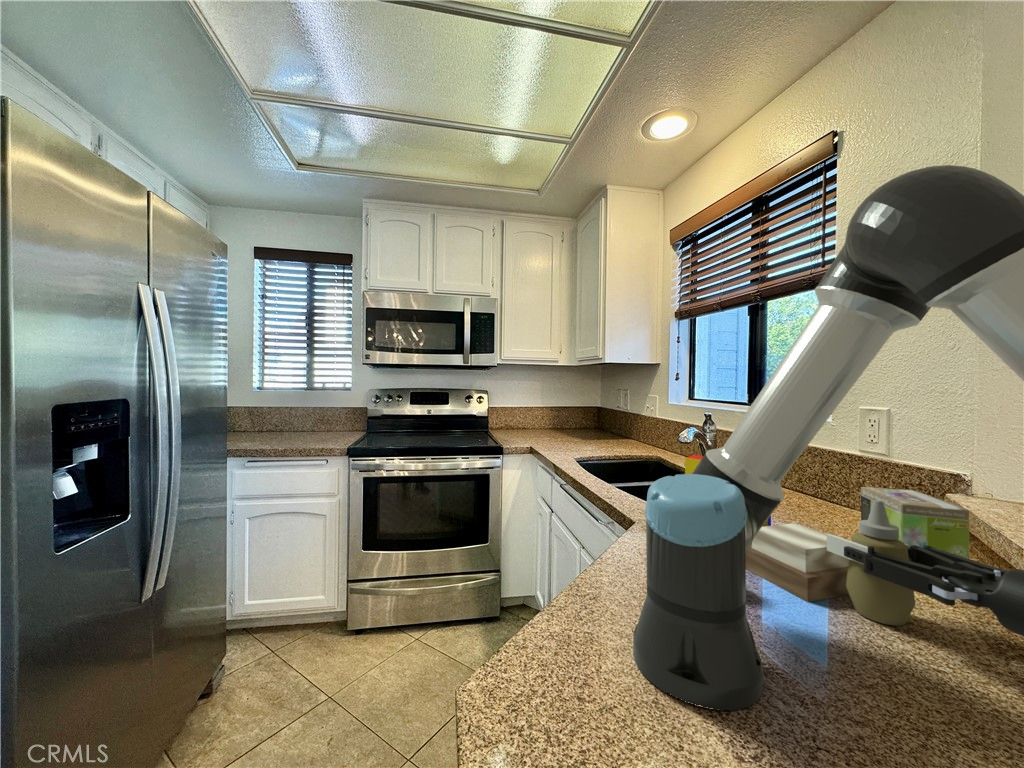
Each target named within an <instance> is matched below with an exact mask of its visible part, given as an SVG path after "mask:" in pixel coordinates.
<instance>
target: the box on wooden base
mask: <svg viewBox="0 0 1024 768" xmlns="http://www.w3.org/2000/svg"><path fill="white" fill-rule="evenodd" d="M827 534H828V533H824V532H822V531H819V530H816V529H813V528H811V527H807V526H804V525H802V524H799V523H795V522H794V523H792V522H791V523H783V524H777V525H775V524H774V525H771V526H764V527H761V529H760V530H759V531H758V533H757V534H756V535H755V537H754V539H753V541H752V544H751V546H750V548H749V550H748V552H747V555H746V570H747V571H749V572H751V573H753V574H754V575H757V576H758V577H760V578H762V579H763V580H765V581H768V582H769V583H771V584H774V585H776V586H777V587H779V588H781V589H783V590H784V591H786V592H788V593H790V594H791V595H792V594H793V595H794V596H796V597H798V598H800V599H802V600H803V601H805V602H807V603H809V602H814V601H820V600H821V601H822V600H826V599H831V598H838V597H844V596H850V595H849V592H848V590H847V587H846V582H847V573H848V565H849V559H848V558H845V557H842V556H840V555H837V554H835V553H832V552H829V551H827Z"/></svg>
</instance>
